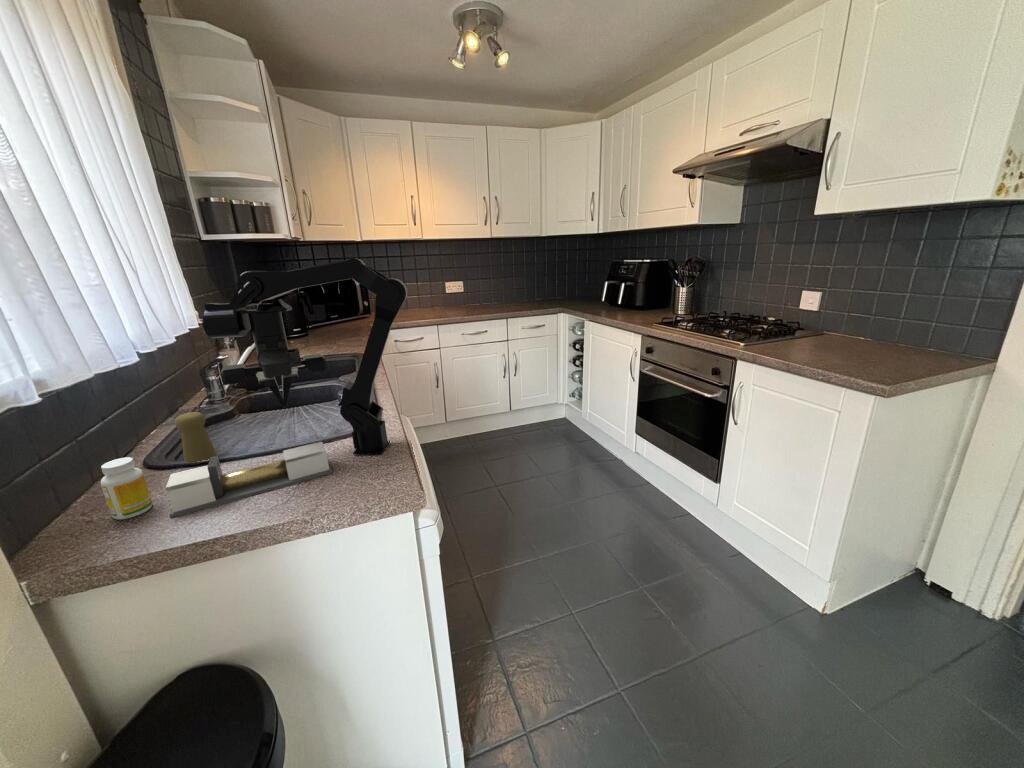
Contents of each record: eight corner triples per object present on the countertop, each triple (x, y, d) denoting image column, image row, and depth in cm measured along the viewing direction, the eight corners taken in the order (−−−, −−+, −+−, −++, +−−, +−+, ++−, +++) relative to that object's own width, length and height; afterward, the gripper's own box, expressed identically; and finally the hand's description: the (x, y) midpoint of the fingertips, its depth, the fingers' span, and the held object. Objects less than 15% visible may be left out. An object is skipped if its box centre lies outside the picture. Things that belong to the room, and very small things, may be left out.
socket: (217, 487, 77) (211, 464, 76) (215, 500, 72) (209, 477, 71) (178, 497, 74) (171, 473, 73) (173, 512, 69) (165, 487, 68)
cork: (204, 465, 88) (191, 418, 85) (177, 466, 88) (163, 419, 85) (223, 453, 93) (211, 408, 90) (197, 454, 93) (185, 409, 90)
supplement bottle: (104, 521, 68) (85, 471, 66) (129, 504, 74) (113, 456, 71) (138, 518, 69) (120, 468, 66) (161, 501, 74) (145, 454, 71)
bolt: (290, 467, 83) (284, 440, 81) (292, 477, 79) (286, 449, 77) (187, 494, 74) (178, 464, 73) (184, 506, 70) (174, 475, 69)
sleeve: (325, 459, 86) (321, 441, 85) (329, 469, 82) (325, 450, 81) (287, 469, 83) (283, 450, 82) (289, 480, 78) (284, 460, 77)
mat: (327, 460, 87) (326, 457, 87) (332, 473, 82) (332, 470, 82) (176, 499, 74) (175, 496, 74) (170, 518, 69) (169, 514, 68)
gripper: (210, 346, 70) (231, 429, 75) (325, 333, 80) (337, 407, 84) (214, 338, 79) (233, 412, 84) (317, 328, 89) (329, 395, 93)
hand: (284, 407), depth 86 cm, fingers closed
